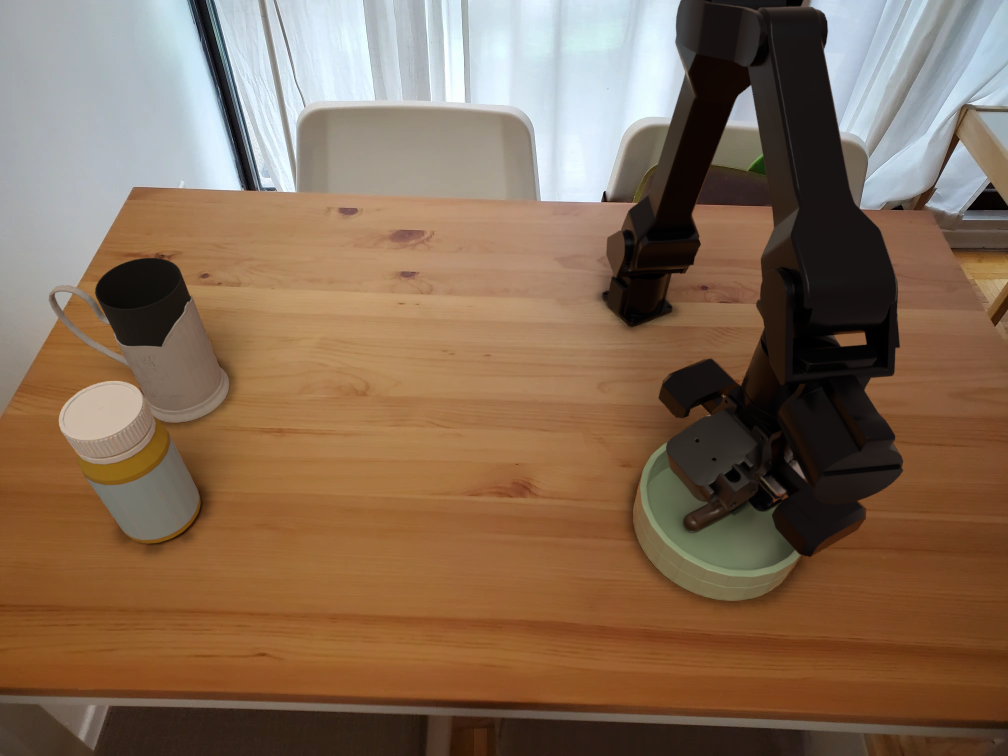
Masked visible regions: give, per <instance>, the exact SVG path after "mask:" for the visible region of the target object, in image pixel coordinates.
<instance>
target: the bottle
mask: <svg viewBox="0 0 1008 756" xmlns="http://www.w3.org/2000/svg"><path fill="white" fill-rule="evenodd" d="M141 391H142V390H140V389H139V388H138V387H136V386H135V385H133V384H131V383H129V382H126V381H121V380H109V381H108V380H107V381H101V382H97V383H94V384H91V385H88V386H87V387H84V388H83V389H81V390H79V391H78V392H76V393H75V394H74V395H72V396H71V397H70V398H69V399H68V400H67V401H66V402H65V404H64V405H63V407H61V410H60V413H59V416H58V425H59V429H60V431H61V433H62V434H63V436H64V438H65V439H66V441H67V442H68V443H69V445H70V446H71V448H73V450H74V451H75V453H76V461H77V463H76V464H77V466H78V467H79V469H80V471H81V473H82V474H83V476H84V478H86V480H87V481H88V483H89V485H90V486H91V487H92V489H93V491H94V492H95V493H96V495H97V496H98V497H99V499H100V500H101V502H102V503H103V505H104V506H105V507H106V509H107V510H108V512H109V513H110V515H111V516H112V518H113V519H114V520H115V522H116V523H117V525H118V526H119V528H120V529H121V530H122V532H123V533H124V534H125V535H126V536H127V537H128V538H129V539H131V540H133V541H134V542H136V543H137V542H138V543H141V544H158V543H159V544H160V543H162V542H165V541H169V540H171V539H174V538H175V537H177V536H179V535H180V534H182V533H183V532H185V531H186V530H187V529H188V528H189V527H190V526H191V525H192V524H193V523H194V521H195V519H196V518H197V516H198V515H199V512H200V508H201V503H202V501H201V496H200V491H199V489H198V488H197V485H196V484H195V481H194V479H193V477H192V476H191V474H190V472H189V470H188V467H187V465H186V464H185V462H184V460H183V458H182V455H181V454H180V452H179V450H178V448H177V446H176V444H175V442H174V440H173V438H172V436H171V434H170V433H169V431H168V429H167V428H166V425H165V424H164V423H163V421H161V420H159V419H157V418H156V417H154V416H153V414H152V412H151V410H150V408H149V406H148V404H147V402H146V400H145V398H144V393H143V392H141Z"/></svg>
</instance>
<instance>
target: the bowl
mask: <svg viewBox="0 0 1008 756" xmlns="http://www.w3.org/2000/svg"><path fill="white" fill-rule="evenodd" d="M667 442H668V441H665V442H664V443H663V444H662V445H660V446H659V447H658V448H657V449H656V450H655V451H654V452H652V453H651V455H650V456H649V458H648V460H647V461H646V463H645V465H644V467H643V469H642V472H641V475H640V478H639V482H638V485H637V489H636V493H635V497H634V502H633V507H632V522H633V528H634V533H635V536H636V539H637V542H638V543H639V545H640V547H641V550H642V551H643V553H644V554H645V555H646V557H647V559H648V560H649V561H650V563H652V565H653V566H654V567H655V568H656V569H657V570H658V571H659V572H660V573H661V574H662V575H663V576H664V577H665V578H667V579H669V580H670V581H671V582H672V583H674V584H676V585H678V586H679V587H681V588H682V589H684V590H686V591H688V592H690V593H692V594H695V595H698V596H701V597H703V598H707V599H713V600H717V601H726V602H733V601H735V602H736V601H738V602H739V601H746V600H751V599H755V598H759V597H762V596H763V595H766V594H768V593H770V592H772V591H773V590H774V589H776V588H777V587H779V586H780V585H781V584H782V582H784V581H785V580H786V579H787V577H788V575H789V574H790V573H792V571H793V569H794V568H795V567H796V565H797V563H798V562H799V561H800V560H801V557H802V556H803V555H800V554H798V552H797V551H796V550H795V549H794V548H793V547H792V546H791V545H790V544H789V542H788V541H787V540H786V539H785V538H784V537H783V536H782V535H781V534H780V532H779V531H778V530H777V529H776V528H775V525H774V521H773V518H772V514H773V512H774V510H775V508H776V507H777V506H776V507H774V508H773V509H771V510H769V511H767V512H759V511H757V510H755V509H754V508H753V507H752V506H750V507H749V508H747V509H745V510H744V511H742V512H740V513H738V514H737V515H735V516H733V514H732V515H730V516H728V517H726V518H724V519H722V520H720V521H718V522H716V523H714V524H712V525H711V526H709V527H707V528H705V529H703V530H701V531H699V532H697V533H690V532H688V531H686V530H685V528H684V527H683V518H684V517H685V515H687V514H688V513H690V512H692V511H694V510H696V509H698V508H700V507H702V506H704V505H706V504H708V503H707V502H702V501H699V500H697V499H696V498H695V497H694V496H693V495H692V494H691V492H690V491H689V490H688V488H687V487H686V486H685V485H684V484H683V482H682V481H681V480H680V479H679V478H678V477H677V475H675V474H674V473H673V471H672V470H671V468H670V465H669V460H668V455H667V451H666V445H667Z"/></svg>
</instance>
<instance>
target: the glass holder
mask: <svg viewBox="0 0 1008 756" xmlns="http://www.w3.org/2000/svg"><path fill="white" fill-rule="evenodd" d="M186 284H187V283H186V281H185V279H184V276H183V273H182V271H181V269H180V268H179V266H178V265H177V264H175V263H174V262H173V261H170V260H168V259H165V258H159V257H142V258H141V257H140V258H137V259H131V260H129V261H125V262H123V263H120V264H118V265H116V266H114V267H113V268H111V269H109V270H108V271H107V272H105V273H104V274H103V275H102V276H101V277H100V279H98V282H97V283H96V286H95V289H94V295H95V297H96V300H97V301H96V300H95V298H94V297H92V296H91V295H90V294H89V293H87V292H86V291H85V290H82V289H81V288H79V287H77V286H73V285H69V284H61V285H57V286H55V287H54V288H53V289H51V291H50V292H49V294H48V302H49V304H50V307H51V310H53V312H54V314H55V316H56V317H57V318H58V319H59V320H60V322H61V323H62V324H63V325H64V326H65V327H66V328H67V330H69V331H70V332H71V333H72V334H73V335H74V336H75V337H76V338H77V339H79V340H80V341H81V342H83V344H85V345H86V346H89V347H90V348H92V349H94V350H96V351H97V352H99V353H101V354H102V355H104V356H106V357H108V358H110V359H112V360H114V361H116V362H118V363H120V364H122V365H124V366H125V367H128V368H130V370H131V372H132V374H133V376H134V378H135V380H136V382H137V384H138V386H139V388H140V389H141V390H140V391H142V392H141V393H142V394H143V396H144V398H145V400H146V402H147V404H148V406H149V408H150V410H151V412H152V414H153V416H154V417H156V418H157V419H159V420H160V421H161V422H165V423H173V424H174V423H177V424H178V423H186V422H191V421H195V420H197V419H200V418H203V417H204V416H207V415H209V414H210V413H212V412H213V411H215V410H216V409H217V408H218V407H219V406H220V405H221V404H222V403H223V402H224V401H225V400H226V397H227V396H228V393H229V391H230V386H231V385H230V378H229V376H228V374H227V372H226V371H225V370H224V369H223V368H222V367H221V366H220V365H219V362H218V359H217V356H216V354H215V351H214V349H213V346H212V343H211V340H210V339H209V336H208V334H207V331H206V328H205V325H204V322H203V320H202V319H201V315H200V313H199V310H198V308H197V307H198V306H197V305H196V302H195V299H194V297H193V295H190V293H189V290H188V286H187V285H186ZM61 292H66V293H70V294H73V295H75V296H76V297H79V298H80V299H82V300H83V301H84V302H85V303H86V304H87V305H88V306H89V307H90V309H91V310H92V311H93V313H94V315H95V316H96V318H97V320H99V321H100V322H101V323H102V324H105V325H107V326H110V327H111V330H112V331H113V336H114V339H115V341H116V343H117V345H118V347H119V349H120V351H121V353H122V355H121V354H119V353H117V352H115V351H113V350H112V349H110V348H107V347H106V346H104V345H102V344H101V343H99V342H98V341H96V340H94V339H92V338H91V337H90V336H88V335H87V334H86V333H84V331H82V330H81V329H80V328H79V327H77V325H76V324H75V323H73V322H72V320H71V319H70V318H69V317H68V316H67V315H66V314H65V312H64V311H63V309H62V307H61V306H60V305H59V303H58V301H57V298H56V293H61ZM97 302H98V303H97ZM99 305H100V306H99Z"/></svg>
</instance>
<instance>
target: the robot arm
mask: <svg viewBox="0 0 1008 756" xmlns="http://www.w3.org/2000/svg"><path fill="white" fill-rule="evenodd" d="M827 19H828V18H827V17H826V14H825V13H824V12H823V11H822V10H821V9H817V8H814V6H811V0H680V1H679V4H678V7H677V11H676V17H675V39H674V43H675V47H676V50H677V53H678V55H679V59H680V61H681V64H682V67H683V70H684V75H683V80H682V83H681V87H680V90H679V93H678V96H677V100H676V103H675V106H674V110H673V113H672V117H671V120H670V123H669V126H668V129H667V133H666V136H665V139H664V143H663V145H662V146H663V147H662V149H661V151H660V152H661V153H660V157H659V160H658V162H657V166H656V170H655V173H654V176H653V179H652V183H651V185H650V189H649V192H648V193H647V195H646V196H645V197H643V198H642V199H641V200H640V201H638V202H637V203H636V204H635V205H633V206H632V207H631V208H630V209H629V210H628V211H627V213H626V216H625V218H624V221H623V223H622V226H621V229H620V230H618V231H616V232H614V233H613V234H610V235H609V236H607V238H606V254H605V255H606V257H607V260H608V263H609V265H610V269H611V271H612V274H613V275H612V276H611V278H610V282H609V283H610V284H609V289H608V290H605V291H603V292H602V293H601V298H602V299H603V300H604V301H605V302H606V303H607V305H609V307H610V308H611V309H612V310H613V311H614V312H615V313H616V314H617V315H618V316H619V317H620V318H621V319H622V320H623V321H624V322H625V323H626V324H627V326H629V327H635V326H639V325H641V324H644V323H646V322H648V321H651V320H653V319H656V318H659V317H662V316H665V315H667V314H669V313H672V312H673V309H674V306H673V305H672V304H671V303H670V302H669V301H668V300H667V299H666V298H667V294H668V290H669V287H670V283H671V279H672V275H674V274H680V275H684V274H686V273H687V271H688V270H689V268H690V266H694V265H695V259H696V256H697V254H698V252H699V249H700V247H701V245H702V243H701V240H700V232H699V231H698V227H697V224H696V222H695V219H694V217H693V213H694V211H695V207H696V205H697V202H698V200H699V198H700V195H701V192H702V190H703V187H704V184H705V182H706V180H707V176H708V174H709V171H710V169H711V166H712V163H713V161H714V158H715V156H716V153H717V150H718V148H719V145H720V143H721V140H722V137H723V135H724V132H725V130H726V127H727V124H728V122H729V119H730V116H731V114H732V111H733V108H734V106H735V103H736V102H737V99H738V97H739V96H740V95H741V94H742V93H744V92H745V91H746V90H747V89H749V87H751V93H752V100H753V105H754V110H755V116H756V123H757V129H758V133H759V140H760V145H761V151H762V157H763V163H764V170H765V175H766V180H767V186H768V192H769V198H770V204H771V210H772V221H773V223H772V224H773V229H772V232H771V234H770V236H769V238H768V241H767V243H766V245H765V247H764V249H763V251H762V254H761V257H760V269H761V283H760V290H759V291H760V292H759V299H758V300H756V303H755V307H756V309H757V311H758V313H759V314H760V317H761V318H762V321H763V329H762V332H761V334H760V337H759V340H758V342H757V344H756V347H755V349H754V351H753V354H752V357H751V360H750V361H749V364H748V367H747V368H746V371H745V374H744V377H743V379H742V382H741V384H740V383H739V382H738V381H737V380H736V379H735V378H734V377H733V376H732V375H730V373H729V372H728V371H726V369H725V368H724V367H723V366H722V365H720V364H719V362H717V361H716V360H715V359H713V358H712V357H709V358H704V359H703V358H702V359H701V360H699V361H696V362H694V363H691V364H689V365H687V366H684V367H682V368H679V369H677V370H675V371H673V372H670V373H668V375H666V377H665V378H663V380H662V382H661V385H660V389H659V393H658V401H660V402H661V403H662V404H663V405H664V407H665V408H666V409H667V410H668V411H669V412H670V414H671V415H673V417H674V418H676V419H686V418H688V417H689V416H690V413H691V410H693V409H695V408H696V407H699V406H702V408H704V410H706V411H707V412H708V414H707V415H705V416H702V417H701V418H699V419H697V420H696V421H694V422H693V423H692V424H690V425H689V426H686V428H685V429H683V430H681V431H680V432H678V433H677V434H675V435H674V436H672V437H671V438H670V439H668V441H666V442H667V445H666V451H667V455H668V460H669V465H670V468H671V470H672V471H673V473H674V474H675V475H677V477H678V478H679V479H680V480H681V481H682V482H683V484H684V485H685V486H686V487H687V488H688V490H689V491H690V492H691V494H692V495H693V496H694V497H695V498H696V499H697V500H699V501H702V502H707V503H708V504H709V505H710V506H711V507H713V506H715V505H717V504H721V505H723V506H724V508H725V509H726V510H731V513H732V514H733V516H735V515H737V514H738V513H740V512H742V511H744V510H745V509H747V508H749V507H750V506H752V507H753V508H754V509H755V510H757V511H759V512H767V511H769V510H771V509H773V508H774V507H776V506H777V507H776V508H775V510H774V512H773V514H772V518H773V521H774V525H775V528H776V529H777V530H778V531H779V532H780V534H781V535H782V536H783V537H784V538H785V539H786V540H787V541H788V542H789V544H790V545H791V546H792V547H793V548H794V549H795V550H796V551H797V552H798V554H800V555H802V556H804V557H808V558H811V557H813V556H816V554H819V553H820V552H822V551H824V550H825V549H827V548H828V547H830V546H832V545H834V544H836V543H837V542H839V541H841V540H842V539H844V538H846V537H848V536H849V535H851V534H853V533H854V532H856V531H858V530H859V529H860V528H861V526H862V524H863V523H864V522H865V521H866V519H867V508H866V507H865V505H863V504H862V503H861V502H860V501H861V500H864V499H867V498H870V497H871V496H874V495H876V494H878V493H880V492H881V491H883V490H885V489H887V488H888V487H889V486H891V485H892V484H893V483H895V482H896V481H897V480H898V479H899V477H900V476H901V475H902V473H903V472H904V468H903V464H904V459H903V456H902V454H901V453H900V451H899V449H898V448H897V446H896V445H895V443H894V442H895V441H896V434H895V432H894V431H893V429H892V428H891V426H890V424H889V422H887V420H886V419H885V418H884V417H883V416H882V414H880V413H879V411H878V409H877V408H876V406H875V405H874V403H873V401H872V400H871V399H870V397H869V396H868V393H867V392H866V391H865V390H866V387H867V386H868V384H869V383H870V381H871V379H876V378H886V377H887V378H888V377H893V376H894V375H895V371H896V349H901V344H900V332H899V331H900V330H899V318H898V302H899V301H898V300H899V284H898V283H899V282H898V279H897V275H896V272H895V271H896V270H895V268H894V266H893V262H892V259H891V256H890V254H889V250H888V247H887V244H886V241H885V238H884V236H883V235H884V234H883V232H882V229H880V227H879V226H878V225H877V224H876V223H875V222H874V221H873V220H872V219H871V218H870V217H869V216H868V214H866V213H865V212H864V211H863V210H862V209H861V208H860V207H859V206H858V205H857V203H856V201H855V198H854V195H853V193H852V189H851V183H850V178H849V175H848V168H847V164H846V163H847V162H846V158H845V153H844V148H843V142H842V137H841V133H840V127H839V121H838V116H837V110H836V105H835V100H834V95H833V90H832V85H831V79H830V74H829V69H828V64H827V59H826V54H825V48H826V46H827V42H828V36H829V26H828V20H827ZM854 334H864V337H865V343H866V344H855V345H844V346H843V345H841V344H840V342H839V341H838V339H837V337H836V336H842V335H854Z"/></svg>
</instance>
